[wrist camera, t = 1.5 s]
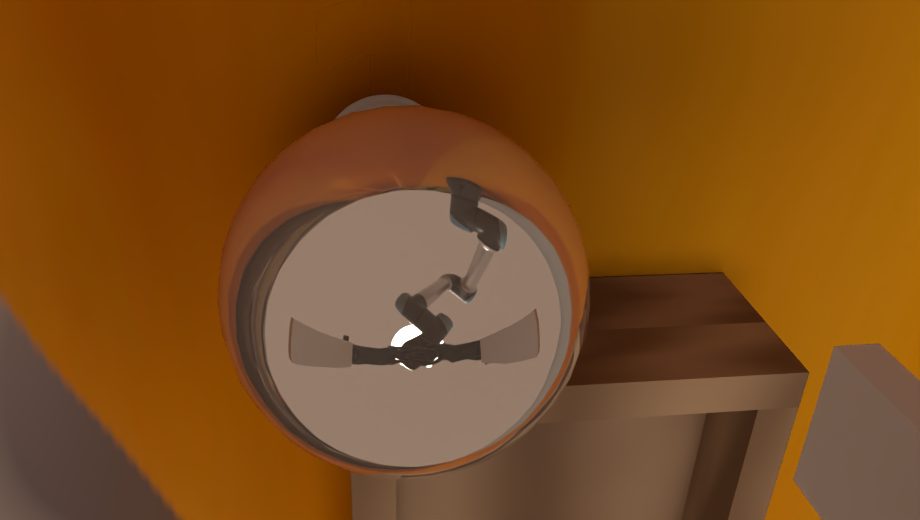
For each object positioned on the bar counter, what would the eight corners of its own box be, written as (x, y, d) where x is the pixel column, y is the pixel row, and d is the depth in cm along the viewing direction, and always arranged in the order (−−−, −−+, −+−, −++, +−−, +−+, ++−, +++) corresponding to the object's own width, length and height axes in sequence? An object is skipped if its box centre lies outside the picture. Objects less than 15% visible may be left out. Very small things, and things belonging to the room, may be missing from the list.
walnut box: (722, 272, 26) (809, 372, 22) (662, 539, 32) (720, 663, 28) (345, 286, 25) (348, 398, 20) (354, 565, 31) (358, 703, 26)
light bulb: (508, 232, 25) (637, 534, 14) (280, 261, 24) (241, 598, 14) (498, 0, 21) (659, 172, 11) (233, 26, 21) (131, 236, 10)
